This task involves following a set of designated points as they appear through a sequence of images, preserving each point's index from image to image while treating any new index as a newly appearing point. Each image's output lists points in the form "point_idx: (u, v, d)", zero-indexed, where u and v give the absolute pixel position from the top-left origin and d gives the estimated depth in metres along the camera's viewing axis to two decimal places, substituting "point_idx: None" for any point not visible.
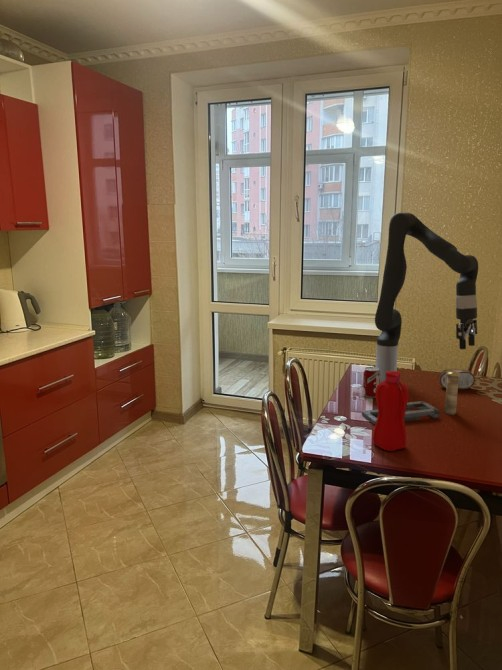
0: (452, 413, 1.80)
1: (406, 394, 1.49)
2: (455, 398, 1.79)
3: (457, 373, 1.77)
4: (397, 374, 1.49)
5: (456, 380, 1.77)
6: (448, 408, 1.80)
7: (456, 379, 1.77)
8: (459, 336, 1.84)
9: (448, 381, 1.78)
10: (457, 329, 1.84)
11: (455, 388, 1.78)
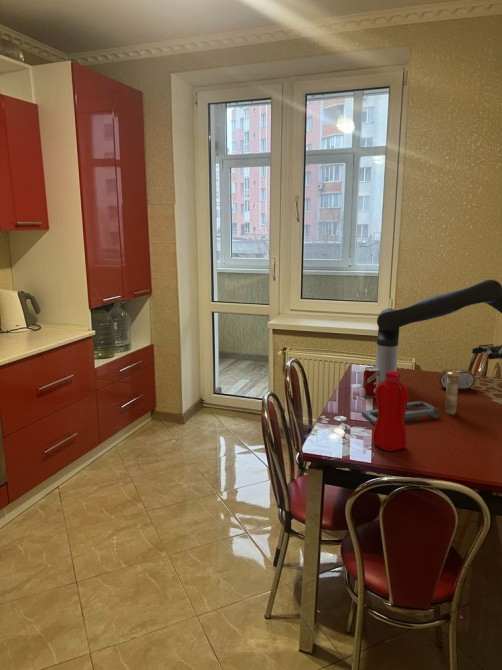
0: (452, 413, 1.80)
1: (406, 394, 1.49)
2: (455, 398, 1.79)
3: (457, 373, 1.77)
4: (397, 374, 1.49)
5: (456, 380, 1.77)
6: (448, 408, 1.80)
7: (456, 379, 1.77)
8: None
9: (448, 381, 1.78)
10: None
11: (455, 388, 1.78)
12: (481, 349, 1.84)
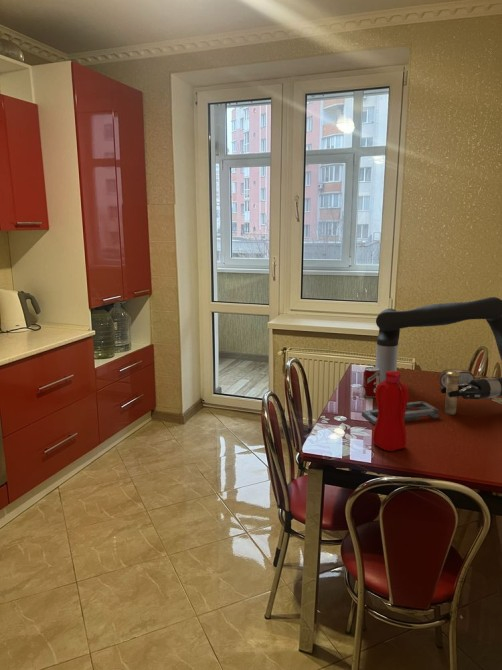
0: (452, 413, 1.80)
1: (406, 394, 1.49)
2: (455, 398, 1.79)
3: (457, 373, 1.77)
4: (397, 374, 1.49)
5: (456, 380, 1.77)
6: (448, 408, 1.80)
7: (456, 379, 1.77)
8: (466, 395, 1.76)
9: (448, 381, 1.78)
10: (474, 393, 1.75)
11: (455, 388, 1.78)
12: None
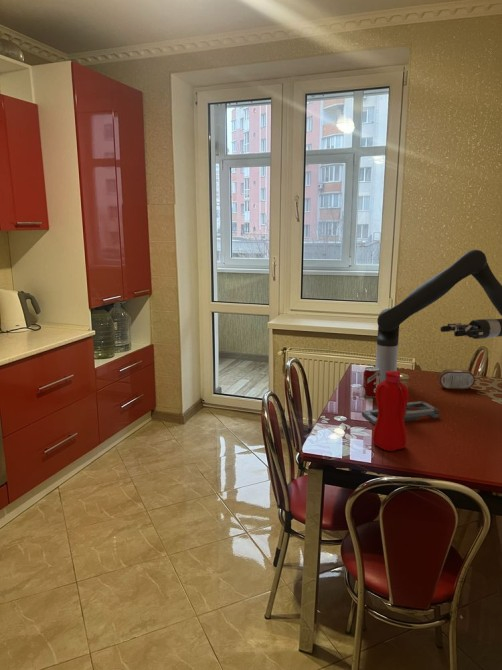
0: None
1: (406, 394, 1.49)
2: None
3: (405, 376, 1.75)
4: (397, 374, 1.49)
5: (404, 383, 1.74)
6: None
7: (404, 382, 1.74)
8: (472, 334, 1.78)
9: None
10: (478, 331, 1.78)
11: None
12: (449, 327, 1.88)
